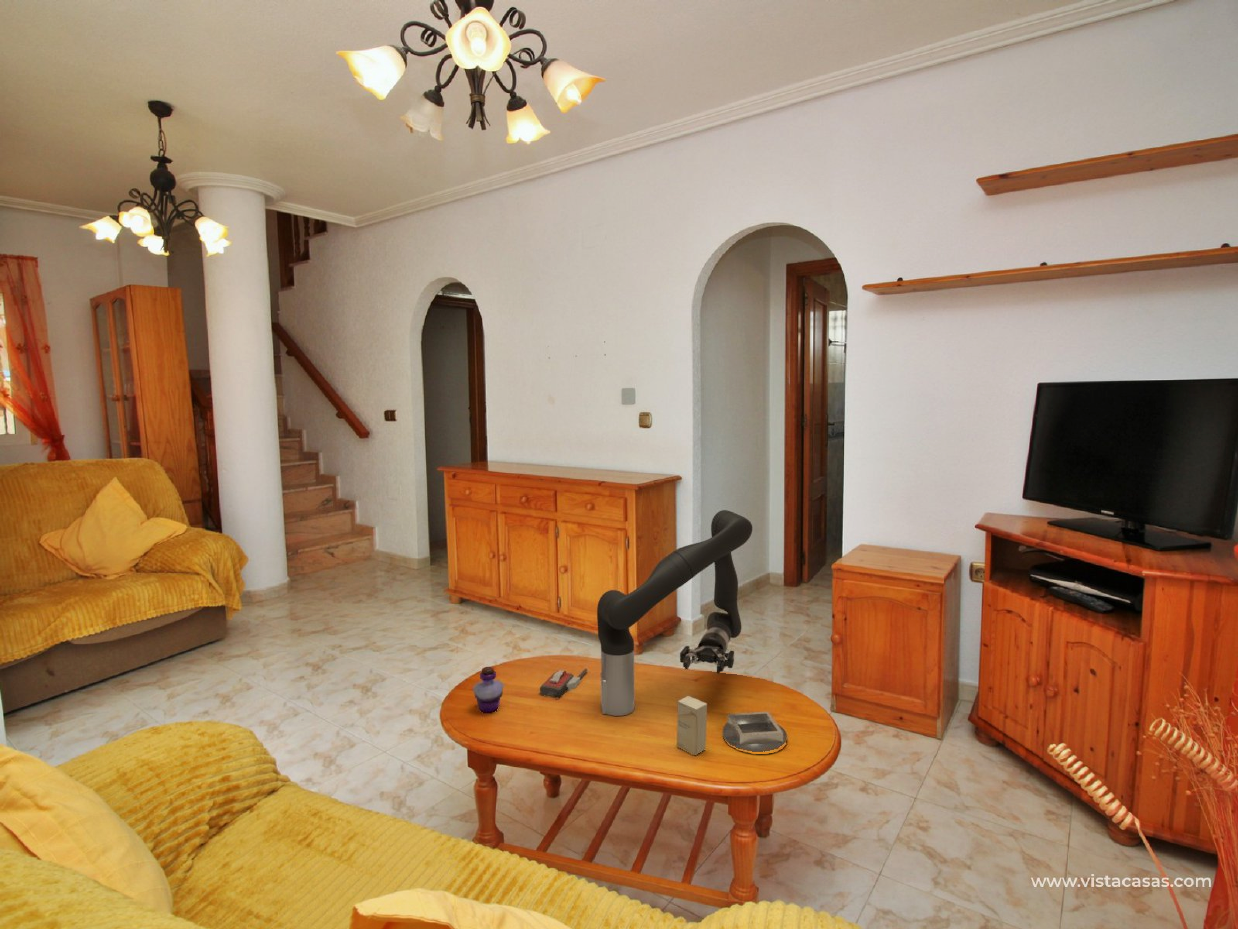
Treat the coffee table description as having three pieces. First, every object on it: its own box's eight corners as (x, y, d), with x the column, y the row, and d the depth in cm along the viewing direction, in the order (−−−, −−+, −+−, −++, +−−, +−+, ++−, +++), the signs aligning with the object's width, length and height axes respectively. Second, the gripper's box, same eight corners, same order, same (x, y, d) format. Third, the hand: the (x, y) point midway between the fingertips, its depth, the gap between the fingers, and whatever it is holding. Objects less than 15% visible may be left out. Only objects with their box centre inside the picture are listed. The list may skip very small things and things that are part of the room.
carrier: (732, 757, 160) (732, 741, 159) (716, 724, 176) (716, 710, 175) (796, 752, 161) (796, 737, 161) (774, 720, 177) (774, 706, 177)
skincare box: (676, 747, 164) (676, 700, 163) (687, 740, 168) (687, 695, 166) (696, 757, 160) (696, 709, 159) (707, 750, 163) (707, 703, 162)
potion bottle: (510, 706, 187) (509, 665, 186) (491, 719, 179) (490, 677, 178) (486, 699, 191) (485, 660, 190) (466, 712, 183) (465, 671, 182)
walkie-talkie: (564, 702, 190) (589, 674, 209) (564, 687, 189) (589, 660, 208) (537, 698, 193) (564, 670, 212) (536, 683, 192) (563, 657, 211)
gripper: (689, 629, 190) (675, 651, 174) (738, 634, 185) (729, 657, 170) (689, 654, 191) (675, 678, 175) (738, 660, 186) (729, 684, 171)
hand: (702, 667), depth 173 cm, fingers open, 8 cm apart
